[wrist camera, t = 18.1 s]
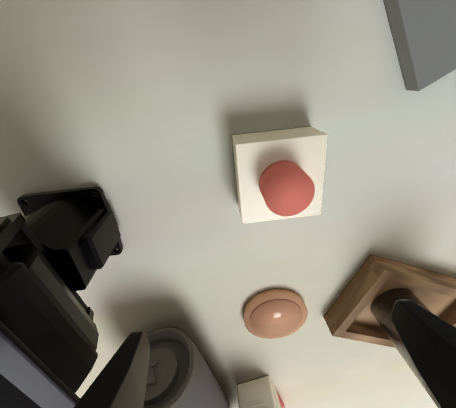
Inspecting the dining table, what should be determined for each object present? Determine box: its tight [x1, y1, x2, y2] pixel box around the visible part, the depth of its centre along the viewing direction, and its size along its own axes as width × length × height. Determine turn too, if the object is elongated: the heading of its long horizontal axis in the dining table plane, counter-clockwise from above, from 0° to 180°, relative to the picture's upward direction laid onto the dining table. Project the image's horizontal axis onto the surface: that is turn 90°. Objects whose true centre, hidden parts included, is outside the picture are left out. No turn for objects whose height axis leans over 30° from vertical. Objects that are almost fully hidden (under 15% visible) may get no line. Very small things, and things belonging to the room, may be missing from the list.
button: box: [259, 160, 315, 216], centre depth 16 cm, size 3×3×2 cm
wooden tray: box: [324, 255, 456, 348], centre depth 27 cm, size 14×10×2 cm
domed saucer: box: [243, 289, 307, 338], centre depth 27 cm, size 7×7×1 cm
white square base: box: [232, 127, 328, 224], centre depth 19 cm, size 6×6×3 cm
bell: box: [371, 288, 441, 408], centre depth 21 cm, size 5×5×14 cm
